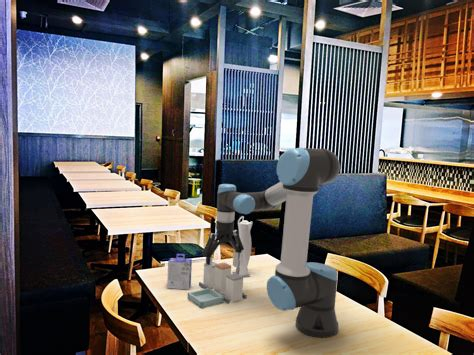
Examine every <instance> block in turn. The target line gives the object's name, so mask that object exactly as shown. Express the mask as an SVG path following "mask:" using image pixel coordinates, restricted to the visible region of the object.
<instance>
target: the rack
mask: <svg viewBox="0 0 474 355" xmlns="http://www.w3.org/2000/svg"><path fill="white" fill-rule="evenodd" d="M215 264H218V263H217V262H215V261H212V273H210V272H208V271H207V264H206V262H205V263H203V280H202V281H203V282H201V281H199V282H198V286H199V287H200V288H202V289H207V288H210V289H212V288H213V289H212V290H214V277H215ZM243 289H244V277H243V276H241V275H239V274H237V273H235V274H233V273H231V274H230V275H226V293H225V294H223V295H222V296H224V295H225V296H224V303H226V304H227V305H229V304H230V303H235V302H240V301H242V300H243V299H244V300H246V299H247V298H248V296H247V293H246V294H245V293H244V292H243V291H244V290H243ZM215 292H216V291H215ZM217 293H218V292H217ZM220 295H221V294H220Z"/></svg>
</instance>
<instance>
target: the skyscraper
mask: <svg viewBox="0 0 474 355" xmlns="http://www.w3.org/2000/svg"><path fill="white" fill-rule="evenodd" d="M244 218H245V217H244V216H243V215H242V216H240V217H239V219H238V220H237V226H238V227H237V228H238V231H239V237H240V239H241V242H242V245H243V248H244V250H242V252H241V253H240V256H239V259H238V267H237V268H236V267H235V271H231V274H235V273H237V274H239V275H241V276H243V278H250V277H251V275H250V272H249V268H248V266H249V262H250V259H251V253H252V236H251V229H252V226H253V221H250V222H249V221H248V220H244ZM241 219H242V221H241Z"/></svg>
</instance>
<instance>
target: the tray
mask: <svg viewBox="0 0 474 355" xmlns="http://www.w3.org/2000/svg"><path fill="white" fill-rule="evenodd" d="M224 297H225V296H224V295H223V296H222V295H220V294H219V293H217V292H215V291H214V289H213V290H212V288H211V289H210V288H207V289H203V288H202V289H199V290H195V291H190V292H187V300H188V301H190V302H192V303H193V304H195V305H196V306H197V307H199V308H200V309H204V308H208V307H212V306H215V305H220V304H223V303H225V302H224Z"/></svg>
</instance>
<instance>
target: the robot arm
mask: <svg viewBox="0 0 474 355" xmlns="http://www.w3.org/2000/svg"><path fill="white" fill-rule="evenodd" d="M280 155H281V156H280V157H279V159H278V161H277V164H276V176H278V177H277V178H278V181H279V182H277V183H276V184H274V185H272V186H270V187H269V188H267V189H265V190H263V191H257V192H255V191H254V192H238V191H237V186H236V185H235V184H231V183H222V184H219V185H218V187H217V188H218V189H217V197H216V199H217V200H216V202H217V203H216V225H215V230H216V232H215V233H212V232H210V233H209V236H208V239H207V242H206V244H205V246H204V248H203V251H202V253H201V255H202V257H205V263H206V264H207V271H208V272H210V273H212V262H213V257H212V256H213V254H215V252H216V250H217V249H218V248H219V246H220V245H222V244H224V243H225V244H226V243H229V244H230V245H231V247H232V249H234V251H233V252H232V253H233V255H232V256H233V257H232V266H233V267H235V269H236V268H237V267H238V259H239V256H240V253H241V252H242V250H244V248H243V245H242V242H241V239H240V237H239V230H237V229H235V226H234V225H235V222H234V221H235V214H236V213H235V212H237V213H239V214H244V215H248V214H251V213H252V212H256V211H271V210H275V209H277V208H279V206H280V205H281V204H282V203H284V202H285V208H284V209H285V211H284V220H283V221H284V222H283V223H284V224H283V232H282V233H283V234H282V241H281V242H282V243H281V254H280V262H279V263H277V264H276V265H275V271H274V272H275V273H274V275H272V276H270V277H269V278H268V279H267V282H266V291H267V292H266V293H267V297H268V298H269V300H270V302H271V303H272V305H273V306H274V307H275V308H276V309H277V310H280V311H283V312H285V311H286V312H287V311H289V310H290V311H293V310H294V309H295V310H296V309H297V308H299V310H298V313H297V315H296V318H295V327H296V329H297V330H298V331H299V332H301V333H302V334H305V335H307V336H310V337H313V338H314V337H315V338H330V337H333V336H335V335H337V333H338V331H339V322H338V320H337V319H338V318H337V314H336V309H335V308H336V298H337V288H338V287H337V286H338V285H337V284H338V272H337V270H336V269H335V268H334V267H332V266H330V265H328V264H324V263H320V262H311V261H310V262H307V261H308V250H309V242H310V241H309V239H310V231H311V221H312V210H313V200H314V195H317V193H318V192H319V189H320V188H321V187H323V186H325V185H327V184H330V183H331V182H333V181H334V180H335V179H336V178H337V177H338V176H339V173H340V169H341V163H340V160H339V158H338V156H337V155H336V154H335V153H334V152H333V151H331V150H329V149H327V148H307V147H304V148H303V147H297V148H289V149H287V150H285V151H284V152H283V153H282V154H280ZM233 237H234V238H233Z"/></svg>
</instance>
